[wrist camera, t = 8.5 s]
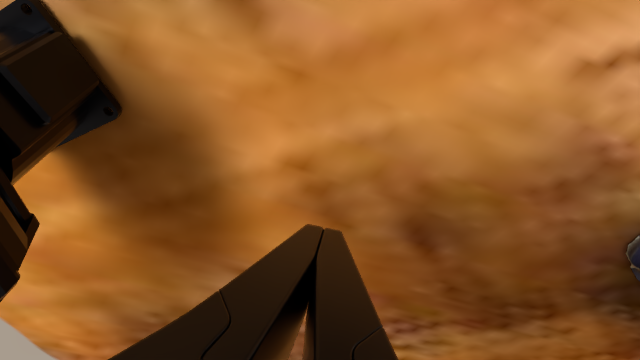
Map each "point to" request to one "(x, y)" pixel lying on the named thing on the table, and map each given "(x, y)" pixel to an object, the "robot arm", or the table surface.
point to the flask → (634, 256)
